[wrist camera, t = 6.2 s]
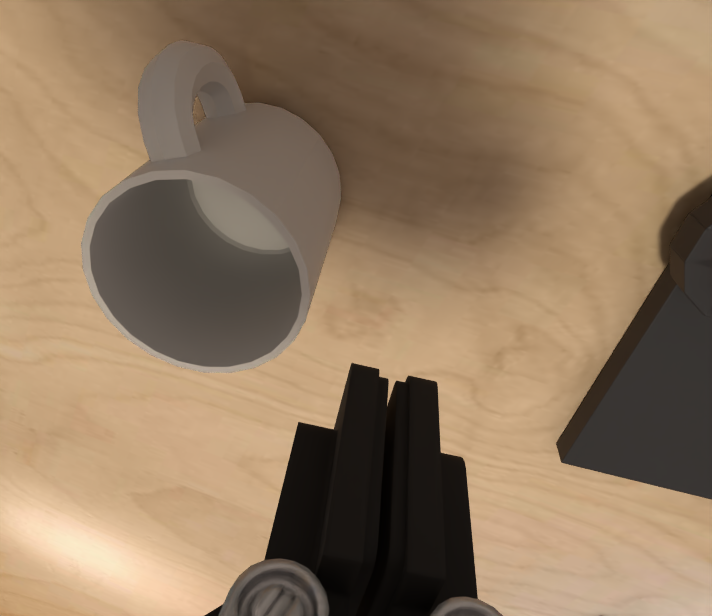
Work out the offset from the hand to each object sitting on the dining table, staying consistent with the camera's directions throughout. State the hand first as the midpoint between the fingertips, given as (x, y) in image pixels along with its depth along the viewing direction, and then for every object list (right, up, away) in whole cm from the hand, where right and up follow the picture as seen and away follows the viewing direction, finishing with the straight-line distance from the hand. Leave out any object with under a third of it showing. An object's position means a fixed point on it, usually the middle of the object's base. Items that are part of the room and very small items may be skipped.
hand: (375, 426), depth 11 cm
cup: (-5, +9, +13) cm, 17 cm away
